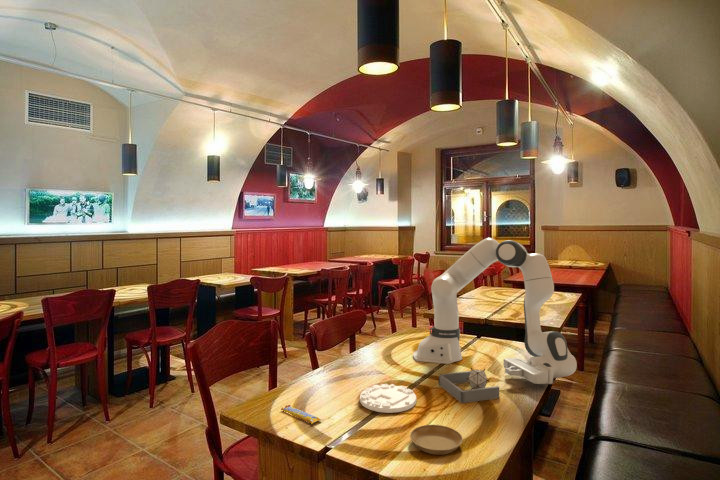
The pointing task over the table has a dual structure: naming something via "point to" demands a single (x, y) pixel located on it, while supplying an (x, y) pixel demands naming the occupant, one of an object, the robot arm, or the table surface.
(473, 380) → the game die
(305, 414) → the candy bar
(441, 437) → the plant saucer
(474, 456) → the table surface
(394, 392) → the embossed medallion
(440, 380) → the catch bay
